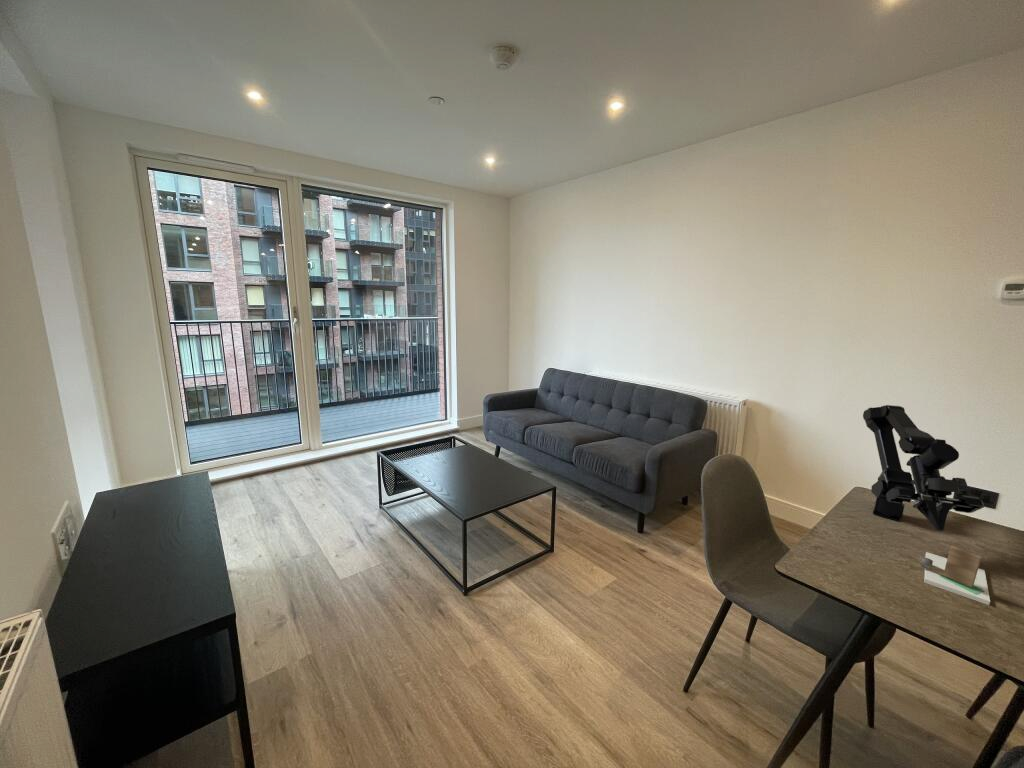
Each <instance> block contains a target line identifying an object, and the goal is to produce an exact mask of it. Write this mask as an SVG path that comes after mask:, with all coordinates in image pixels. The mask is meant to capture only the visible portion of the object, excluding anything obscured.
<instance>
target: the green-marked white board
mask: <svg viewBox="0 0 1024 768" xmlns="http://www.w3.org/2000/svg"><path fill="white" fill-rule="evenodd" d="M924 557H925V558H929V559H931V560H932V561H933V563H932V565H934V566H936V567H939V568H941V569H943V570H945V566H946V562H947V558H948V557H947V558H946V557H944V556H940V555H937V554H933V553H931V552H927V551H926V552H925V555H924ZM923 579H924V581H923V583H924V584H928V585H931V586H933V587H936V588H940V589H942V590H944V591H947V592H951V593H953V594H956V595H959V596H962V597H965V598H967V599H971V600H973V601H976V602H979V603H982V604H984V605H987V606H990V603H991V599H990V594H989V587H988V582H987V577H986V572H985V569H981V568H978V571H977V575H976V578H975V582H974V585H973V586H974V587H976V588H978V589H981V590H983V591H985V592H982V591H979V590H977V589H975V588H971V587H968V586H966V585H964V584H962V583H959V582H957V581H955V580H952V579H950V578H948V577H946V576H943V575H942V574H939V573H937V572H935V571H932V570H930V569H926V568H924V578H923Z"/></svg>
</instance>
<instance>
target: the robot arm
mask: <svg viewBox="0 0 1024 768" xmlns="http://www.w3.org/2000/svg"><path fill="white" fill-rule="evenodd" d="M862 418H863V420H864V423H865V425H866V427H867V428H868V429H869V430H870V431H871V432H872V433H873V434H874V438H875V443H876V444H875V445H876V447H877V452H878V457H879V461H880V465H881V473H880V474H879V476H878V478H877V481H876V482H875V483H873V484H871V488H870V489H871V493H872V494H873V495H874V496H875V497H876V498H875V504H874V508H873V510H872V514H873V515H874V516H875V515H876V516H879V517H883V518H885V519H889V520H893V521H895V522H900V519H903V516H904V510H905V503H903V502H907V503H911V501H913V502H914V504H913V505H912V507H913V509H916V510H918V512H920V513H921V514H922V515H923V516H924V517H925V518H926V519H927V520H928V521H929V522H930V524H931V525H932V526H933V527H934V528H935V529H936V531H939V532H943V531H944V530H945V526H946V520H947V517H948V514H949V512H950V511H951V510H954V511H955V512H958V513H965V514H966V513H967V514H972V513H975V512H976V511H979V510H982V509H983V508H985V505H984V502H983V500H982V499H981V498H980V497H978V496H970V495H965V494H964V495H963V494H961V495H959V496H957V497H955V498H951V497H947V496H952V495H953V493H957V494H959V493H960V491H967V490H968V484H967V481H966V479H965V478H962V477H952V478H951V479H946V478H945V476H941V472H940V470H943V469H945V468H946V467H948V466H949V465H951V464H952V463H954V462H955V461H957V460H958V459H959V457H960V453H959V450H957V449H956V448H955V447H953V446H952V445H950V444H949V443H947V442H946V439H939V438H935V437H933V435H931V434H930V433H928V432H926V431H923V430H921V429H920V428H918V427H917V426H916V424H915V423H914V421H912V419H911V417H909V415H908V414H907V413H906V411H905V407H903V406H900V405H891V404H890V405H889V404H886V405H882V406H877V407H868V408H867V409H865V410H864V411H863V414H862ZM893 430H894V431H895V432H896V434H897V435H898V436H899V440H898V446H899V448H900V450H901V451H902V452H903V453H904V454H909V455H910V454H911V455H913V456H912V457H910V458H909V459H908V460H907V462H906V466H908V467H910V471H911V472H909V471H905V470H903V468H902V464H901V460H900V457H899V451H898V448H897V444H896V440H895V437H894V436H895V435H894V431H893Z"/></svg>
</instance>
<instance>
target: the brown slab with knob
mask: <svg viewBox="0 0 1024 768" xmlns="http://www.w3.org/2000/svg"><path fill="white" fill-rule="evenodd" d="M981 560H982V556H980V555H977V554H975V553H973V552H969V551H967V550H965V549H962V548H959V547H956V546H954V545H951V546H950V548H949V552H948V556H947V562H946V566H945V570H943V569H941V568H939V567H936V566H934V565H932V563H933V561H932V560H931V559H929V558H925V556H924V557H923V556H922V558H921V561H920V567H922V568H924V569H925V568H926V569H930V570H932V571H935V572H937V573H939V574H942V575H943V576H946V577H948V578H950V579H952V580H955V581H957V582H959V583H962V584H964V585H966V586H968V587H971V588H975V589H977V590H979V591H982V592H985V591H983V590H981V589H978V588H976V587H974V586H973V585H974V582H975V578H976V575H977V571H978V568H979V567H980V563H981ZM979 569H980V568H979Z"/></svg>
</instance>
